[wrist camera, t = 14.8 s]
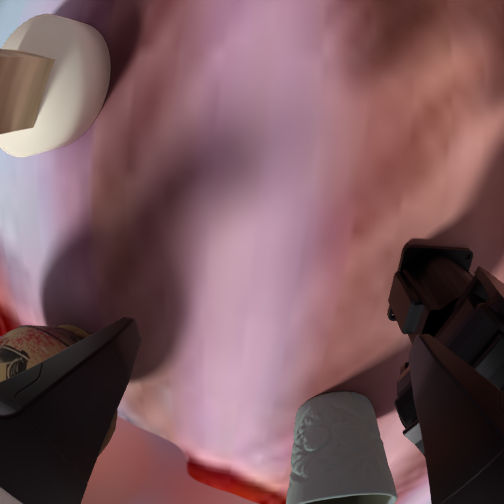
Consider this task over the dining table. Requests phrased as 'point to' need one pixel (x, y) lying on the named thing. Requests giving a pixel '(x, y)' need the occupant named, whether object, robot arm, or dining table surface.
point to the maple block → (21, 88)
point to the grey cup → (339, 453)
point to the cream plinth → (61, 82)
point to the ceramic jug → (39, 351)
